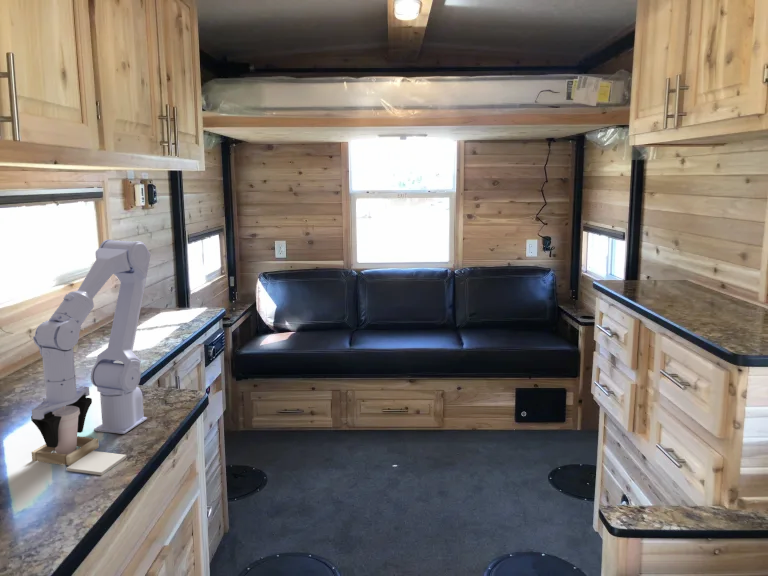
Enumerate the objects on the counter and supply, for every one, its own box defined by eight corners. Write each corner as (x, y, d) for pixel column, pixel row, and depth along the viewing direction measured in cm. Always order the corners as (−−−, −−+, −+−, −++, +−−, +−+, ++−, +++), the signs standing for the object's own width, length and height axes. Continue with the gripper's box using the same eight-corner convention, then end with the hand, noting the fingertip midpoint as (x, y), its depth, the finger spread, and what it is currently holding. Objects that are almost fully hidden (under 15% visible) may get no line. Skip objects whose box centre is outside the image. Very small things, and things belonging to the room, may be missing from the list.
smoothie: (88, 447, 135) (83, 386, 132) (74, 460, 128) (69, 396, 126) (58, 447, 135) (53, 386, 132) (43, 460, 128) (37, 396, 126)
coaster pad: (93, 453, 132) (92, 450, 132) (126, 457, 130) (126, 454, 130) (66, 470, 124) (66, 467, 124) (101, 475, 123) (101, 472, 122)
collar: (63, 443, 137) (62, 434, 136) (99, 447, 135) (98, 438, 135) (32, 461, 128) (31, 452, 128) (70, 465, 126) (69, 456, 126)
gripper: (67, 365, 136) (72, 423, 139) (16, 387, 122) (22, 451, 125) (95, 368, 135) (100, 427, 137) (47, 390, 121) (52, 455, 123)
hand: (65, 438), depth 131 cm, fingers open, 7 cm apart
